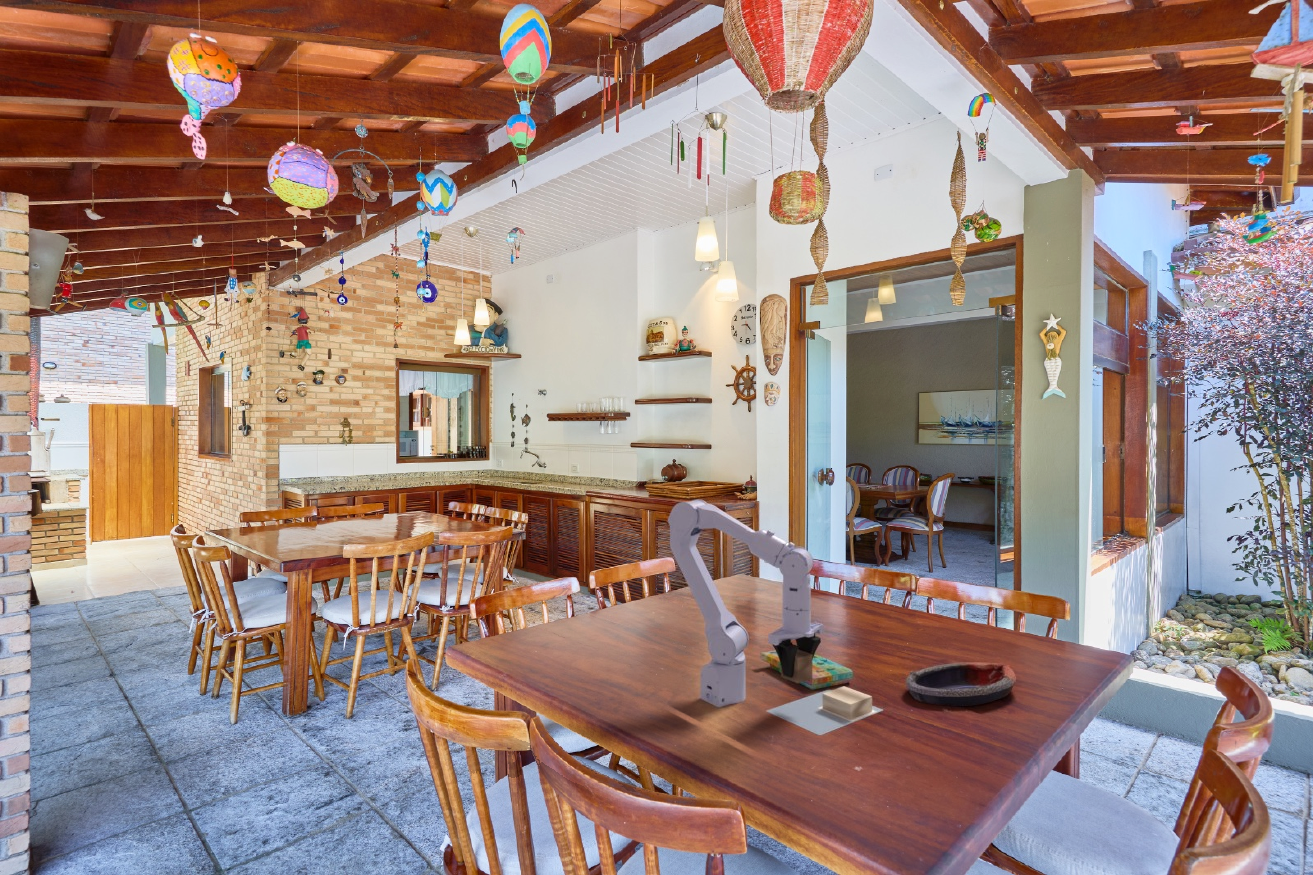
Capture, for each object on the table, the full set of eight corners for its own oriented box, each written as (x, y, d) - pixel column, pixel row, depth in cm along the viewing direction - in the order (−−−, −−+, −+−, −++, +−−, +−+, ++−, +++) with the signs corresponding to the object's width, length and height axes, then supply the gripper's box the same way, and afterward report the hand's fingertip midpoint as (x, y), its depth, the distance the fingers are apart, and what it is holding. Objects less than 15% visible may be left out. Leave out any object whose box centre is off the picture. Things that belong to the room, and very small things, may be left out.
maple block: (850, 719, 130) (850, 704, 130) (822, 708, 135) (822, 693, 135) (872, 711, 134) (872, 696, 134) (844, 700, 139) (843, 686, 140)
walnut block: (797, 683, 132) (797, 658, 132) (780, 677, 136) (780, 652, 136) (812, 678, 135) (812, 654, 135) (795, 672, 138) (795, 648, 138)
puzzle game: (811, 675, 145) (760, 649, 163) (811, 696, 145) (760, 668, 163) (853, 667, 150) (798, 643, 168) (853, 688, 150) (798, 661, 168)
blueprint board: (819, 739, 123) (819, 735, 123) (765, 714, 134) (765, 710, 134) (883, 713, 135) (883, 709, 135) (828, 693, 146) (828, 689, 146)
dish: (885, 693, 146) (885, 670, 147) (983, 674, 159) (983, 653, 159) (940, 719, 132) (940, 695, 132) (1044, 696, 145) (1044, 674, 145)
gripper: (787, 617, 128) (786, 687, 128) (834, 606, 136) (834, 671, 136) (760, 609, 133) (760, 676, 133) (808, 599, 142) (808, 662, 142)
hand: (796, 673), depth 135 cm, fingers closed on walnut block, 4 cm apart
